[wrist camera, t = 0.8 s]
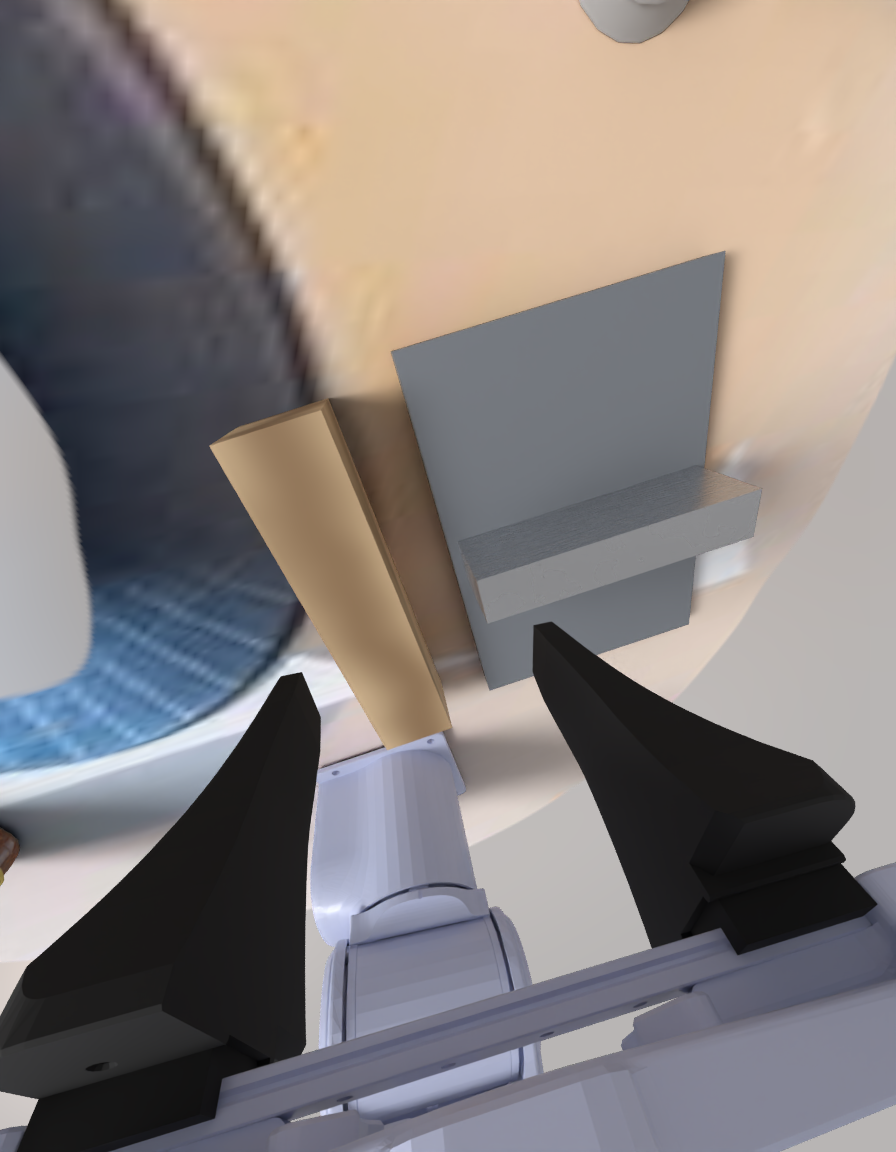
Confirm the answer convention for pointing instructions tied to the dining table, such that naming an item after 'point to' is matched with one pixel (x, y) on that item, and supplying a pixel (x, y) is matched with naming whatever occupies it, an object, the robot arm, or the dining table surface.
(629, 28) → the chalice
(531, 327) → the slate base plate
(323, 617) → the oak bar
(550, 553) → the steel ridge
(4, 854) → the sauce bottle
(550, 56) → the dining table surface
